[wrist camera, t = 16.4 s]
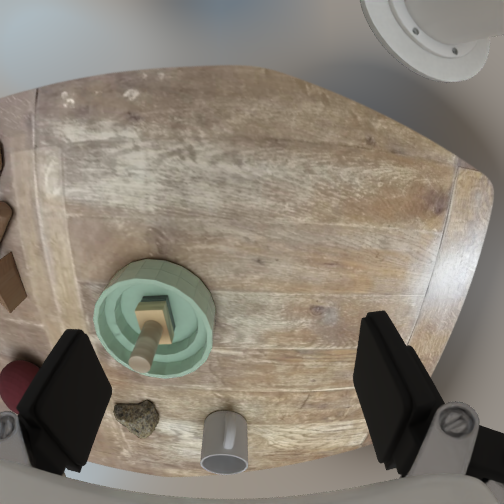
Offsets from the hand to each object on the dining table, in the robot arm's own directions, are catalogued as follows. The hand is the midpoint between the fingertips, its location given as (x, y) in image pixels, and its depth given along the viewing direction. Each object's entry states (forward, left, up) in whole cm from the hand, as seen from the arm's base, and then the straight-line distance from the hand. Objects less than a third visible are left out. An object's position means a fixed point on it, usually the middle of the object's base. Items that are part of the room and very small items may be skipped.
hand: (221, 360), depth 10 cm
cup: (+30, +22, -26) cm, 45 cm away
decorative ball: (+47, -9, -26) cm, 54 cm away
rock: (+40, +10, -26) cm, 49 cm away
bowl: (+18, +2, -26) cm, 31 cm away
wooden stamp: (+18, +2, -25) cm, 31 cm away
